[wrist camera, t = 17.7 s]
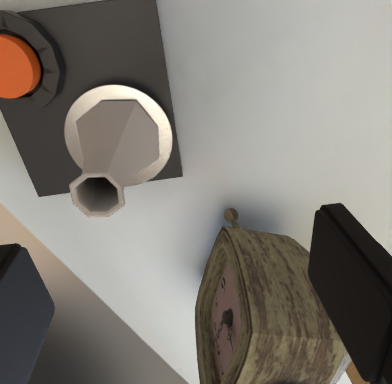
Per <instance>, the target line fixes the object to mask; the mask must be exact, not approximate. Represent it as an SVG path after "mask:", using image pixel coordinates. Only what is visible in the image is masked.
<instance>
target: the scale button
mask: <svg viewBox="0 0 392 384" xmlns="http://www.w3.org/2000/svg"><path fill="white" fill-rule="evenodd" d="M40 77H41V67H40V63H39V60H38V58H37V56H36V54H35V52H34V51H33V50H32V49H31V47H30V46H29V45H28V44H27V43H25V42H24V41H22V40H21V39H19V38H17V37H15V36H12V35H8V34H0V97H2V98H17V97H20V96H22V95H24V94H26V93H28V92H30V91H32V90H33V89H34V88H35V87H36V86H37V85H38V83H39V81H40Z"/></svg>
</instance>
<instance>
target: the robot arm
mask: <svg viewBox="0 0 392 384" xmlns="http://www.w3.org/2000/svg"><path fill="white" fill-rule="evenodd" d="M308 277H309V280H310V282H311V284H312V286H313V288H314V290H315V291H316V293H317V295H318V297H319V299H320V301H321V303H322V305H323V307H324V308H325V310H326V312H327V314H328V316H329V318H330V320H331V322H332V324H333V326H334V327H335V329H336V331H337V333H338V335H339V337H340V339H341V341H342V343H343V344H344V346H345V348H346V350H347V352H348V354H349V356H350V358H351V360H352V362H353V363H354V365H355V367H356V369H357V371H358V373H359V375H360V376H361V378H362V379H363V380H364V381H365V382H370V384H392V256H391V255H390V254H389V253H388V252H387V251H386V250H385V249H384V248H383V246H382V245H381V244H379V243H378V242H377V241H376V240H375V239H374V238H373V237H372V236H371V235H370V234H369V233H368V231H367V230H366V229H365V228H364V227H363V226H362V225H361V224H360V223H359V222H358V220H357V219H356V218H355V217H354V216H353V215H352V214H351V213H350V212H349V211H348V210H347V208H346V207H345V206H344V205H343V204H341V203H336V204H328V205H322V206H321V208H320V210H317V211H316V212H315V217H314V225H313V233H312V240H311V248H310V256H309V264H308ZM54 309H55V307H54V302H53V300H52V298H51V296H50V294H49V292H48V290H47V289H46V287H45V284H44V282H43V280H42V278H41V276H40V275H39V272H38V270H37V269H36V267H35V265H34V262H33V261H32V259H31V257H30V255H29V253H28V251H27V249H26V248H24V247H21V245H19V244H16V243H15V244H7V245H0V384H28V381H29V378H30V376H31V373H32V370H33V368H34V365H35V362H36V360H37V357H38V355H39V352H40V349H41V347H42V344H43V341H44V338H45V336H46V333H47V331H48V328H49V325H50V323H51V320H52V317H53V315H54Z"/></svg>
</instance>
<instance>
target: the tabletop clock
mask: <svg viewBox="0 0 392 384" xmlns="http://www.w3.org/2000/svg"><path fill="white" fill-rule="evenodd" d="M224 218H225V220H227V221H228V222H230V223H231V222H232V225H233V228H232V227H226V226H223V227H222V229H221V230H220V232H219V234H218V236H217V238H216V241H215V243H214V246H213V249H212V251H211V254H210V257H209V259H208V262H207V265H206V268H205V272H204V275H203V278H202V281H201V285H200V288H199V292H198V296H197V301H196V306H195V330H196V346H197V361H198V370H199V379H200V384H336V383H337V382H338V380H339V379H340V377H341V376H342V375H343V373H344V372H345V370H346V369H347V367H348V366H349V364H350V362H351V361H352V360H351V358H350V356H349V354H348V352H347V350H346V348H345V346H344V344H343V343H342V341H341V339H340V337H339V335H338V333H337V331H336V329H335V327H334V326H333V324H332V322H331V320H330V318H329V316H328V314H327V312H326V310H325V308H324V307H323V305H322V303H321V301H320V299H319V297H318V295H317V293H316V291H315V290H314V288H313V286H312V284H311V282H310V280H309V277H308V264H309V256H310V253H309V252H308V251H307V250H306V249H305V248H303V247H302V246H301V245H300V244H299V243H298V242H296V241H295V240H294V239H292V238H290V237H289V236H285V235H278V234H272V233H265V232H259V231H252V230H245V229H241V228H240V227H239V225H238V223H237V222H236V220H237V219H238V212H237V211H236V210H235V209H232V208H231V209H227V210H226V211H225V213H224Z"/></svg>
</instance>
